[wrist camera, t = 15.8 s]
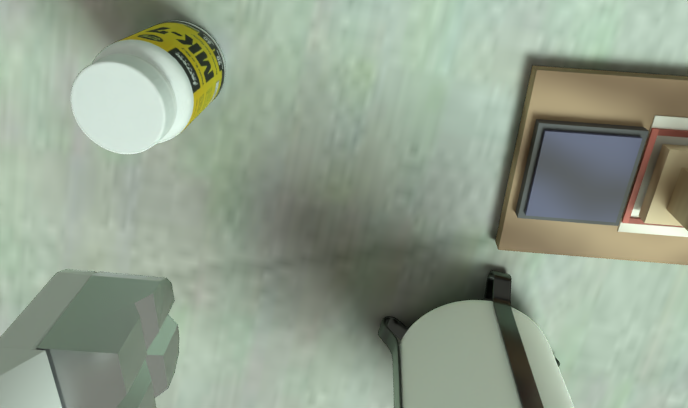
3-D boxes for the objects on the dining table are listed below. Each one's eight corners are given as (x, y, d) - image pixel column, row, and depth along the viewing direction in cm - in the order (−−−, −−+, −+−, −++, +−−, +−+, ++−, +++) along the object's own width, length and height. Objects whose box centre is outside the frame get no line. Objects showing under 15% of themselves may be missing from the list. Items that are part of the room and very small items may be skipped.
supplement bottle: (244, 60, 36) (198, 106, 27) (197, 123, 38) (139, 185, 29) (169, -2, 35) (93, 25, 26) (124, 67, 37) (39, 115, 28)
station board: (532, 65, 35) (541, 74, 33) (773, 82, 35) (798, 92, 33) (495, 241, 41) (501, 257, 39) (701, 257, 41) (718, 275, 39)
